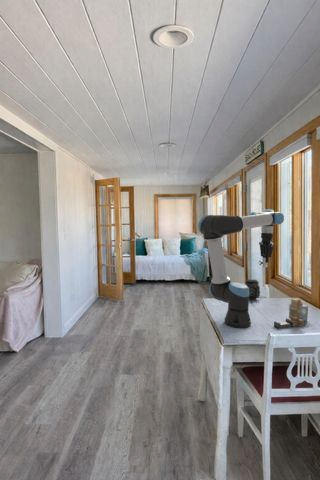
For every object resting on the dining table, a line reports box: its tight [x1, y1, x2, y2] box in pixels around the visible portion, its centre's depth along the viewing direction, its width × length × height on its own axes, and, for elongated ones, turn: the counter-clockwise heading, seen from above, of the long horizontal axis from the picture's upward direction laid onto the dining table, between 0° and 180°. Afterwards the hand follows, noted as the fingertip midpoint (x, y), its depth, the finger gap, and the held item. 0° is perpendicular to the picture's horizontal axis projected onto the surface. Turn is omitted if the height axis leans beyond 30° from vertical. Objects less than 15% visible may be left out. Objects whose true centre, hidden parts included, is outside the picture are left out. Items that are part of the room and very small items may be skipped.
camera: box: [244, 279, 261, 301], centre depth 241 cm, size 10×10×15 cm
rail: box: [273, 318, 307, 330], centre depth 182 cm, size 20×4×3 cm, turn 111°
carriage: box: [285, 297, 305, 328], centre depth 183 cm, size 8×6×15 cm
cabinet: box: [288, 303, 309, 322], centre depth 194 cm, size 8×8×9 cm
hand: (265, 267), depth 212 cm, fingers closed
